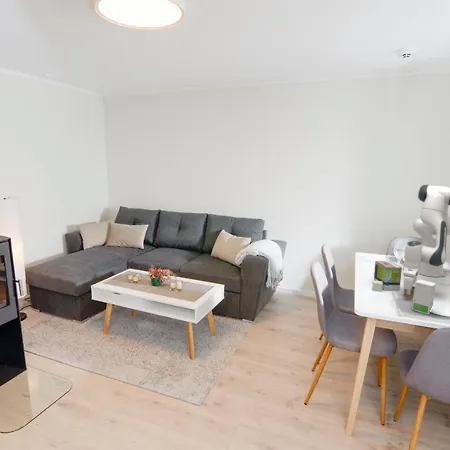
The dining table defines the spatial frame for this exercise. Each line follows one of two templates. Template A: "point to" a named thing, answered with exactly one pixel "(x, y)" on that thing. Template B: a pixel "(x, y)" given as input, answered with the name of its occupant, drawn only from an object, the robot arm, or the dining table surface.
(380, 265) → the tea box
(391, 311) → the dining table surface
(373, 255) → the dining table surface
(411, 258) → the robot arm
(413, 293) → the walnut block
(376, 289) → the sage block
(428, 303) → the skincare box
